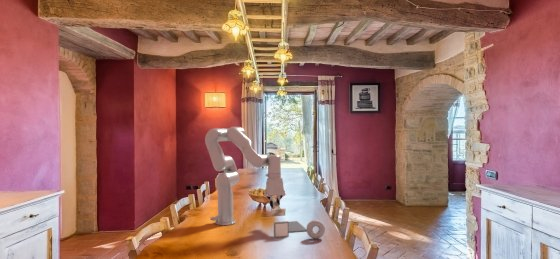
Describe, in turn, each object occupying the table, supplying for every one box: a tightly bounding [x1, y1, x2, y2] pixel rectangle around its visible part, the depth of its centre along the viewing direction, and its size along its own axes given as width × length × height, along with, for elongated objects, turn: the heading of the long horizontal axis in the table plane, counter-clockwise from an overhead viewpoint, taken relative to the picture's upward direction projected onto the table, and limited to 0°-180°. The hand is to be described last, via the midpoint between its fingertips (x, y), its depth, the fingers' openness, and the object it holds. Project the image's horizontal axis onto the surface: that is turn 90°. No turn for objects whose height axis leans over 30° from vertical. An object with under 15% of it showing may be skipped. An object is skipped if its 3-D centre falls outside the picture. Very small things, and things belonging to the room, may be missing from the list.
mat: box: [288, 220, 307, 233], centre depth 201 cm, size 12×20×1 cm, turn 14°
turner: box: [269, 196, 286, 217], centre depth 198 cm, size 8×17×4 cm, turn 14°
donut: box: [305, 219, 326, 240], centre depth 179 cm, size 10×4×10 cm, turn 91°
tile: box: [273, 220, 290, 238], centre depth 183 cm, size 8×2×8 cm, turn 104°
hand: (274, 206), depth 198 cm, fingers closed on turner, 3 cm apart
